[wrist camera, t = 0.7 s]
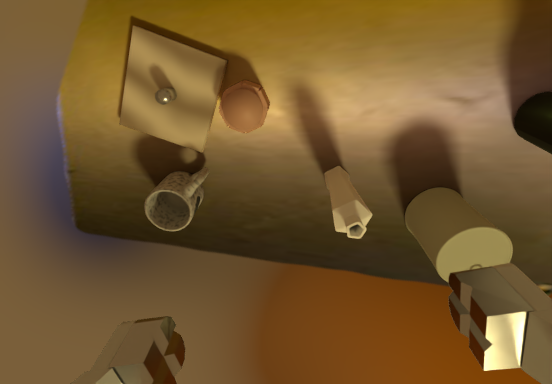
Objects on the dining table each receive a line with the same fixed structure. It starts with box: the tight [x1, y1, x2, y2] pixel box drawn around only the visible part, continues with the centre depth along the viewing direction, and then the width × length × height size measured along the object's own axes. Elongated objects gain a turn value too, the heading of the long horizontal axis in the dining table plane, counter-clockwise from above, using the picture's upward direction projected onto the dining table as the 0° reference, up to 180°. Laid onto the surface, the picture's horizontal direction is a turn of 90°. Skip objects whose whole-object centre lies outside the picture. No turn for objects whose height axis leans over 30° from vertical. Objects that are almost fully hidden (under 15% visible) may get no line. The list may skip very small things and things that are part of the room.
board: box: [119, 25, 228, 152], centre depth 42 cm, size 13×12×1 cm
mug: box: [144, 167, 209, 231], centre depth 45 cm, size 10×7×7 cm
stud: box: [155, 87, 177, 105], centre depth 40 cm, size 2×2×3 cm
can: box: [405, 187, 513, 282], centre depth 44 cm, size 9×9×12 cm
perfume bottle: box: [324, 166, 372, 239], centre depth 40 cm, size 5×4×15 cm
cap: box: [219, 80, 270, 133], centre depth 41 cm, size 6×6×4 cm
